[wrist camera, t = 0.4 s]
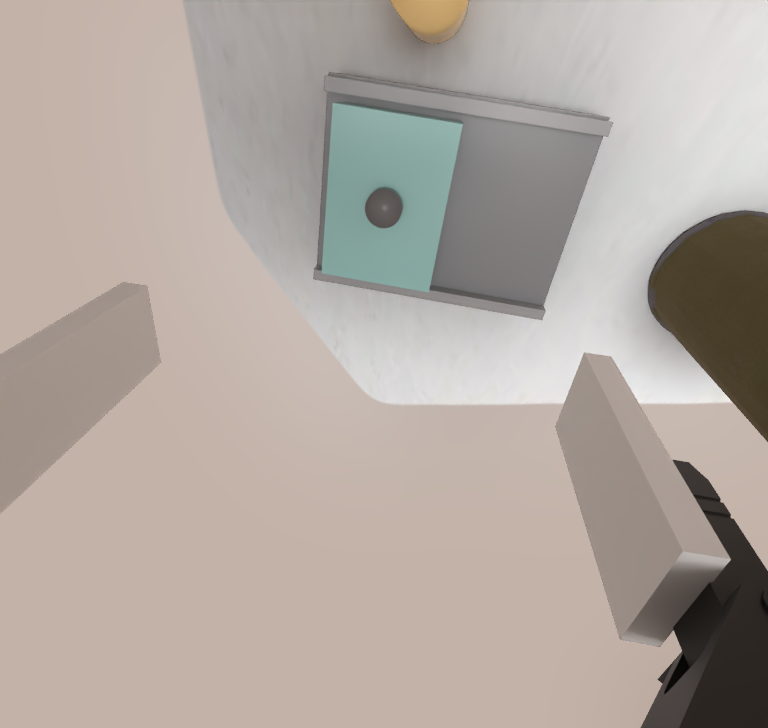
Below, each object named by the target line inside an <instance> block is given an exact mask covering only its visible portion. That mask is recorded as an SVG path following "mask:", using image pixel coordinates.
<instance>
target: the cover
mask: <svg viewBox="0 0 768 728" xmlns="http://www.w3.org/2000/svg"><path fill="white" fill-rule="evenodd" d="M462 126H463V122H462V121H456V120H450V119H444V118H438V117H432V116H426V115H420V114H413V113H407V112H401V111H395V110H389V109H383V108H377V107H371V106H365V105H359V104H352V103H346V102H335V103H333V106H332V121H331V137H330V152H329V167H328V183H327V198H326V213H325V228H324V244H323V259H322V273H323V274H328V275H334V276H339V277H345V278H351V279H356V280H362V281H367V282H373V283H379V284H384V285H390V286H395V287H401V288H407V289H412V290H418V291H423V292H429V289H430V284H431V279H432V274H433V269H434V264H435V259H436V254H437V249H438V244H439V240H440V235H441V230H442V225H443V220H444V215H445V210H446V205H447V200H448V195H449V190H450V185H451V180H452V175H453V171H454V166H455V161H456V156H457V151H458V146H459V141H460V136H461V131H462Z"/></svg>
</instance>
